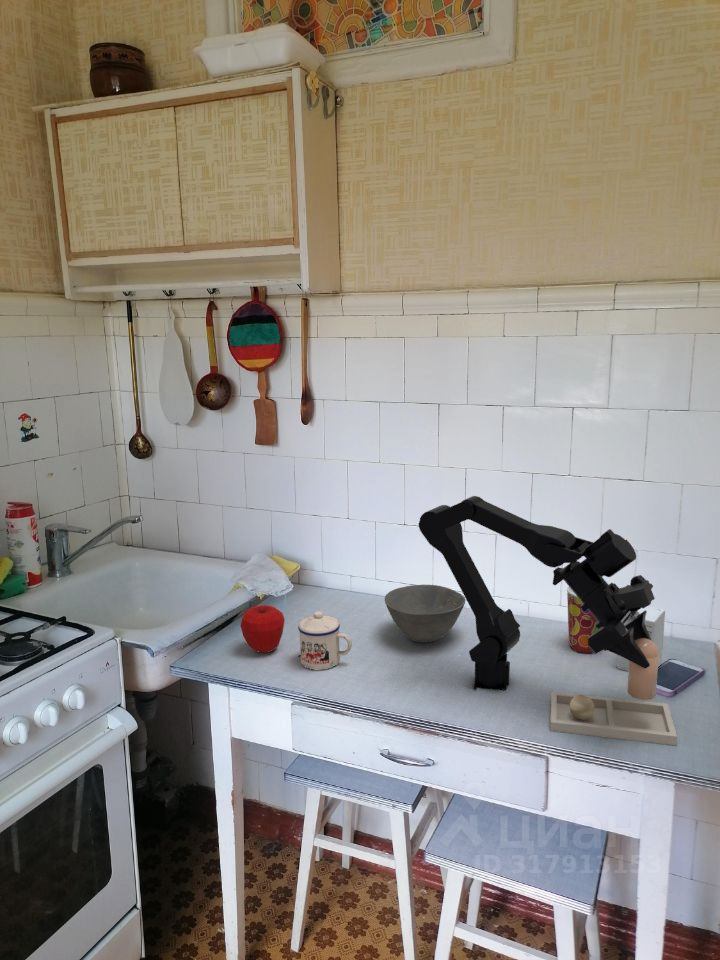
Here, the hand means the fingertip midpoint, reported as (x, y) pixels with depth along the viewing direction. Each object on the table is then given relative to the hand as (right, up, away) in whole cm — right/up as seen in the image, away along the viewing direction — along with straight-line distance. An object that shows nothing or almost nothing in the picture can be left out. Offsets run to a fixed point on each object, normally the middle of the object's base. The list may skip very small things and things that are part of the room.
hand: (651, 661), depth 127 cm
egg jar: (-1, -6, +2) cm, 7 cm away
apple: (-74, -7, +39) cm, 83 cm away
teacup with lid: (-59, -8, +32) cm, 67 cm away
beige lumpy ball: (-11, -12, +6) cm, 17 cm away
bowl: (-36, -5, +43) cm, 56 cm away
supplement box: (+8, -8, +26) cm, 28 cm away
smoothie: (-1, -6, +35) cm, 36 cm away
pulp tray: (-6, -13, +5) cm, 15 cm away
